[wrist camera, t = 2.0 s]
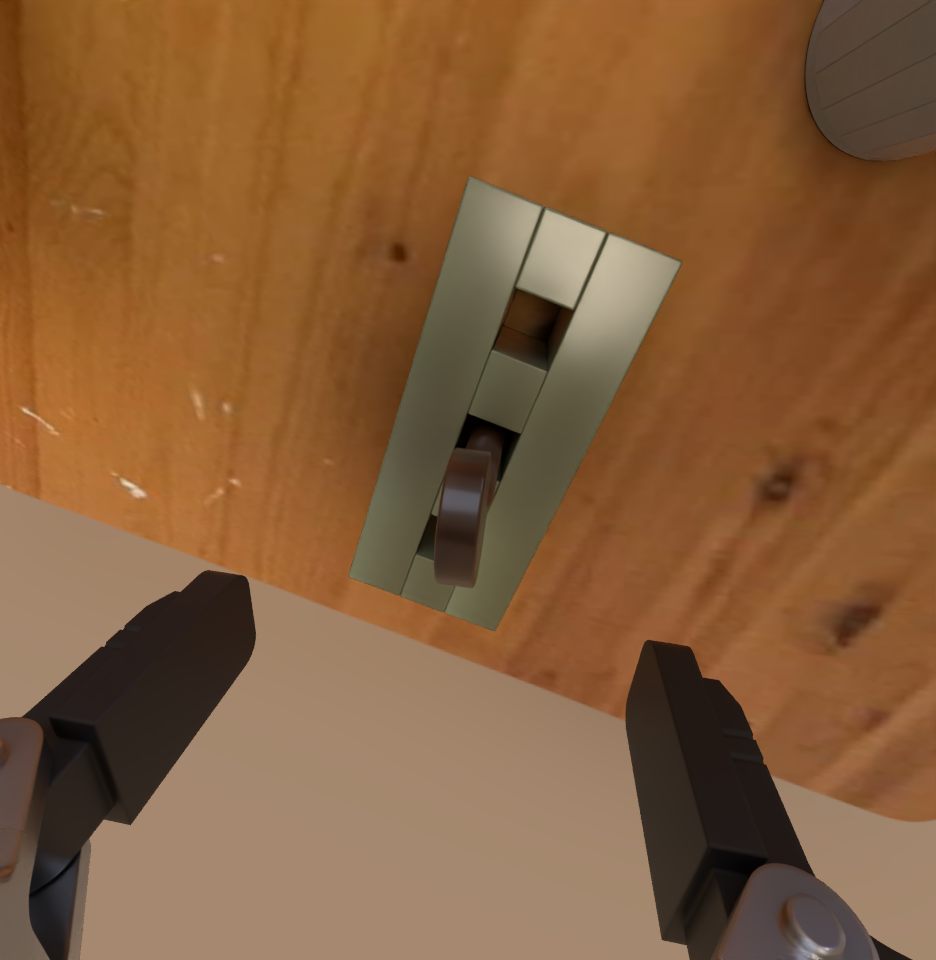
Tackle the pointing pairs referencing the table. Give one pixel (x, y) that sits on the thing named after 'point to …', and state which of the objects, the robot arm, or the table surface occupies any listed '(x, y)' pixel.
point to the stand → (506, 389)
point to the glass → (875, 77)
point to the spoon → (466, 505)
